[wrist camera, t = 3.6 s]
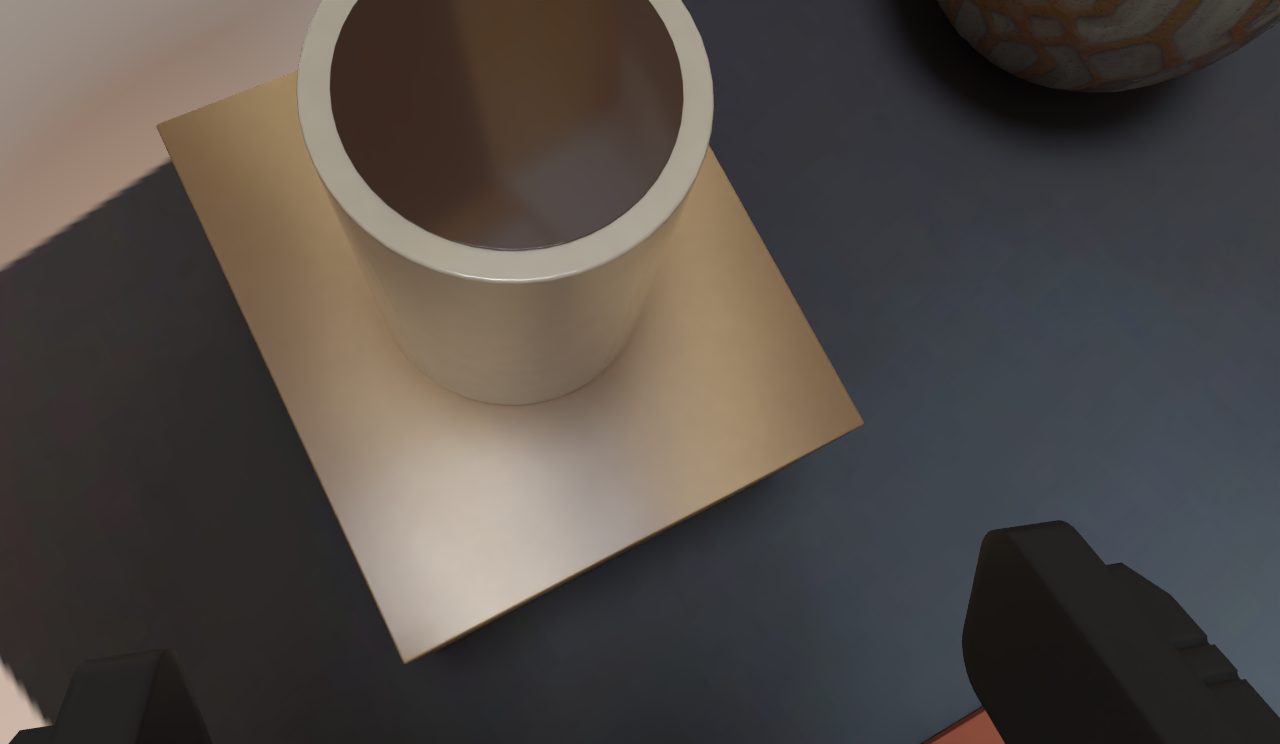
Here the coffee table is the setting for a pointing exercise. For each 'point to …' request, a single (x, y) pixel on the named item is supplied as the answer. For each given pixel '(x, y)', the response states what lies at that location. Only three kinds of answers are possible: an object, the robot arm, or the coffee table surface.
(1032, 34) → the vase
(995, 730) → the placemat
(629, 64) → the cup
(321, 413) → the light brown wooden block
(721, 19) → the coffee table surface
